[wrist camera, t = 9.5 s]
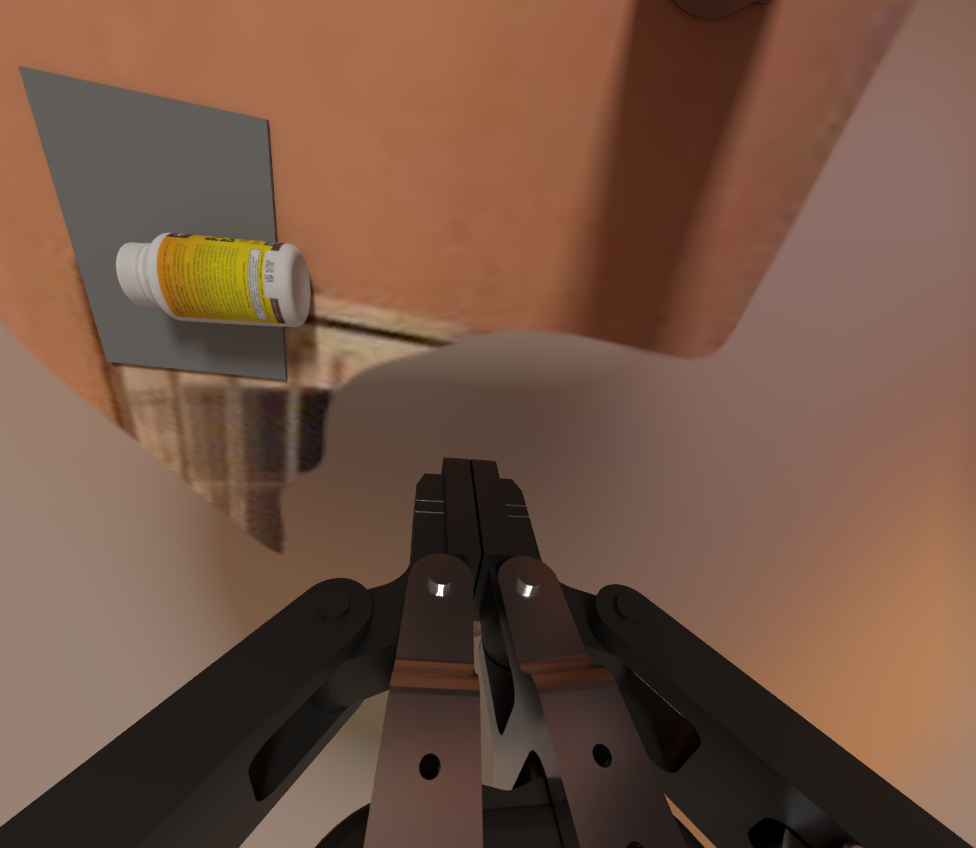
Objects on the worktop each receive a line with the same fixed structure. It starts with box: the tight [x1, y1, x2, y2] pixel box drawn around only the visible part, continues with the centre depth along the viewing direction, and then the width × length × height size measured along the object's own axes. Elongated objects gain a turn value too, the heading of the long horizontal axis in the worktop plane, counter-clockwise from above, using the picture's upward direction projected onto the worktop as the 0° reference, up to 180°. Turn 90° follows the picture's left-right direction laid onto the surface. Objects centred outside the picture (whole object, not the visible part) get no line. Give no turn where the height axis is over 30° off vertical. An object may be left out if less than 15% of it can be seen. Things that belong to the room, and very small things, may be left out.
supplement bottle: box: [116, 233, 311, 327], centre depth 27 cm, size 6×6×10 cm
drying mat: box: [19, 66, 287, 380], centre depth 29 cm, size 13×18×1 cm
